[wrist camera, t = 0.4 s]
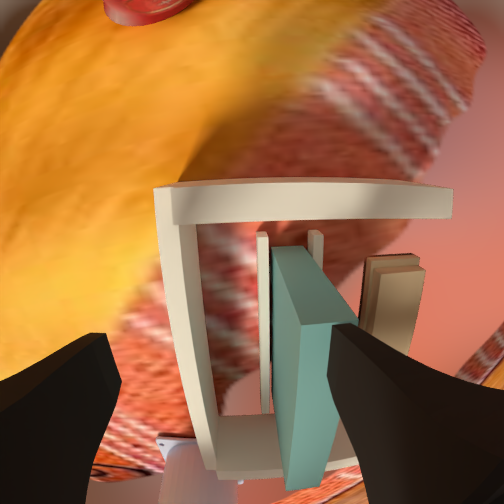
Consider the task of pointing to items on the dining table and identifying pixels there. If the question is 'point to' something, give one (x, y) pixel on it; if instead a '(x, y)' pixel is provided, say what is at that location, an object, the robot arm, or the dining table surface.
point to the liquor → (142, 10)
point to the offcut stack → (391, 298)
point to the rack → (259, 291)
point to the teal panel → (303, 363)
